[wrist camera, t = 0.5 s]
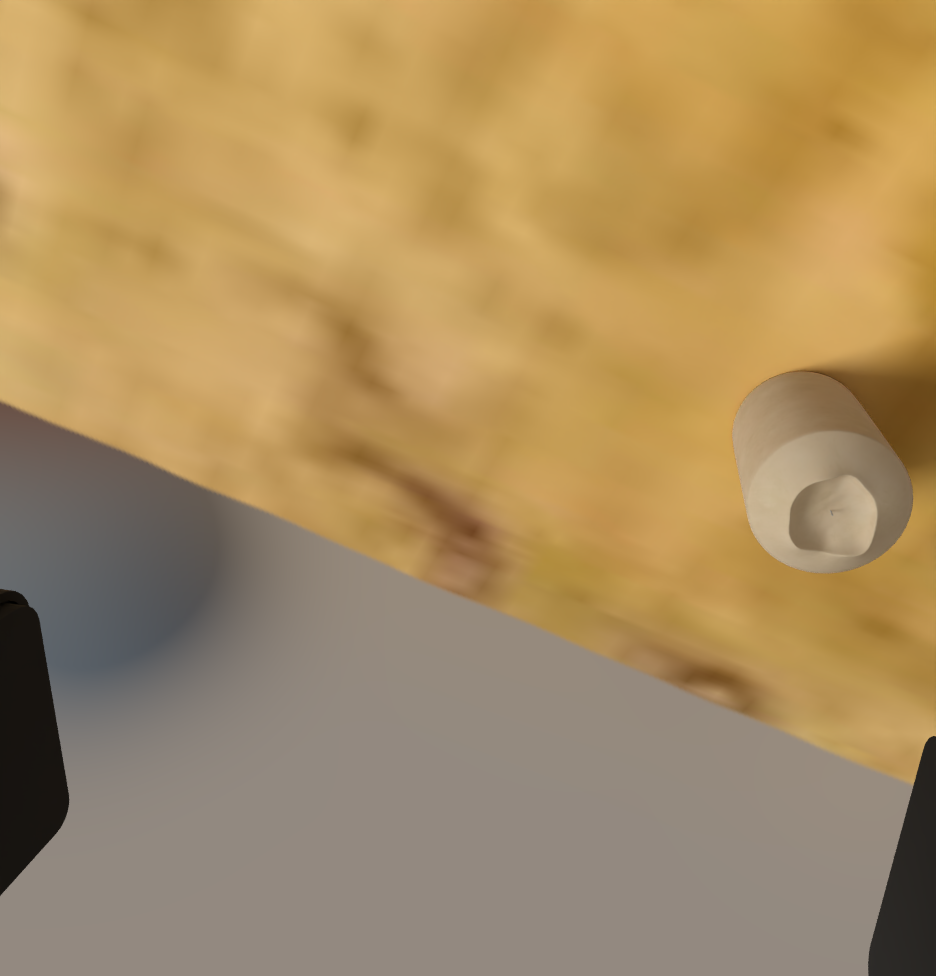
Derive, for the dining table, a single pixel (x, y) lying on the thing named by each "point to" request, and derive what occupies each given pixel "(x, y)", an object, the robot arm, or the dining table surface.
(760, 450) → the candle
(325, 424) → the dining table surface
